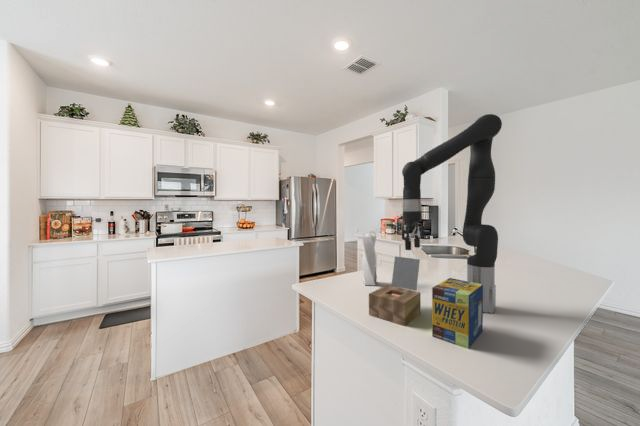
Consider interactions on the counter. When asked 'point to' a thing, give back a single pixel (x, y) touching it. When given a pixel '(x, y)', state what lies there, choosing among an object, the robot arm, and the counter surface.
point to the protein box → (457, 311)
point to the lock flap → (405, 273)
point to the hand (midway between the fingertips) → (412, 248)
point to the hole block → (395, 304)
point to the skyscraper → (369, 260)
